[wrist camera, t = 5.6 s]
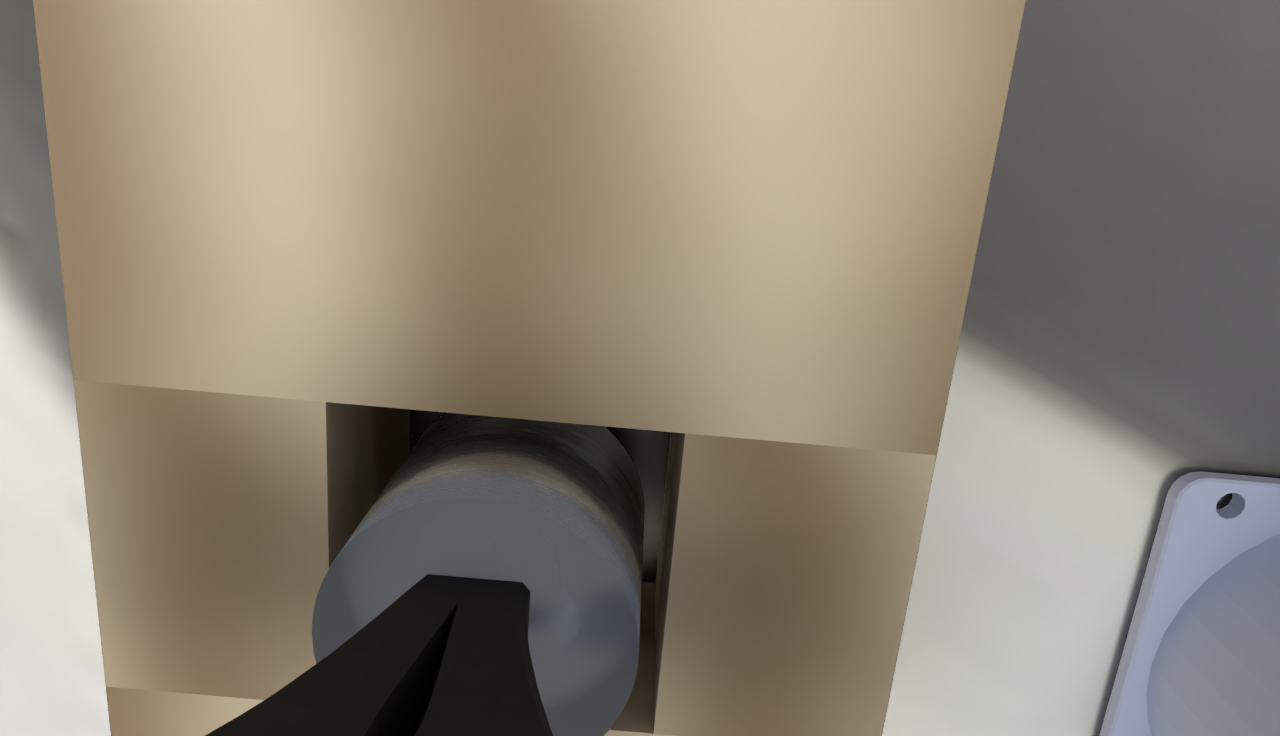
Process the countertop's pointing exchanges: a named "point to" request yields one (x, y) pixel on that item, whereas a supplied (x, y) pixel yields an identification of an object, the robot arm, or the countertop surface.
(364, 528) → the peg
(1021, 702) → the countertop surface
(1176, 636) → the robot arm
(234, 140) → the socket block
